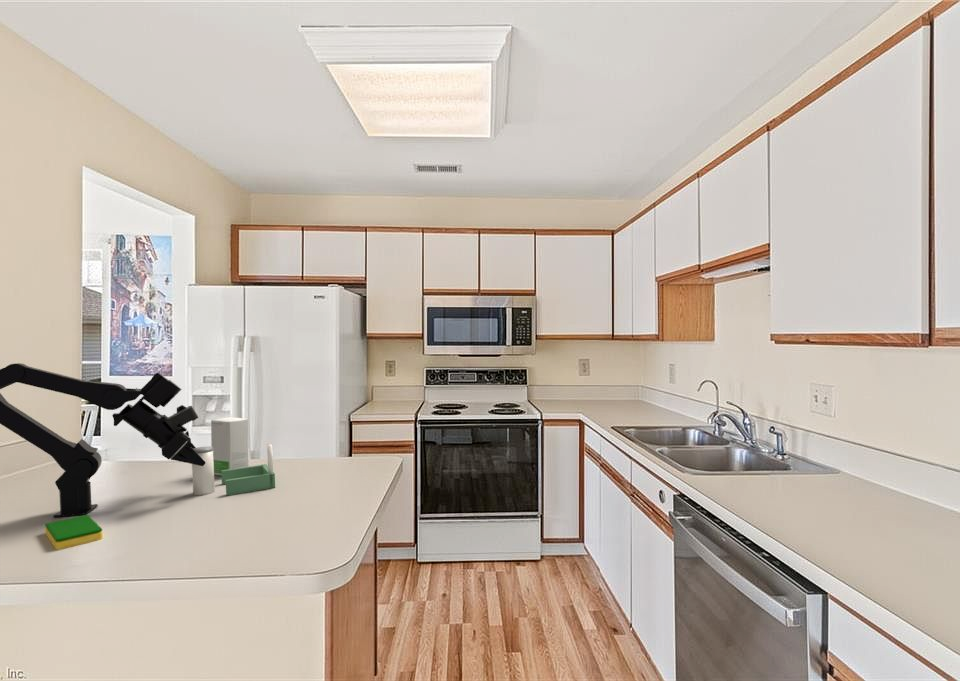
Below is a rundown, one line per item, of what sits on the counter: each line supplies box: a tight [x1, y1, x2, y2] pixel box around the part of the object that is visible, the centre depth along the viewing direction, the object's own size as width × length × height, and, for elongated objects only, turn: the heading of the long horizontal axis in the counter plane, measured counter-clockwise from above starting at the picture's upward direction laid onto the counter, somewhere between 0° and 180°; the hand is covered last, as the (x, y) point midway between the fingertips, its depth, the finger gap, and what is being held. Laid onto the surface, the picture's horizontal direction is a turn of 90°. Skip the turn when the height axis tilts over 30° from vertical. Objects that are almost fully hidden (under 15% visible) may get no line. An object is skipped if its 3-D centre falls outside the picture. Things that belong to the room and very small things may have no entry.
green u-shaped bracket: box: [221, 443, 276, 496], centre depth 142 cm, size 11×13×10 cm
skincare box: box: [210, 416, 249, 476], centre depth 156 cm, size 8×7×16 cm
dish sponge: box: [45, 514, 103, 550], centre depth 108 cm, size 7×14×2 cm, turn 45°
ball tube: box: [191, 445, 216, 496], centre depth 136 cm, size 5×5×11 cm
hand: (203, 461), depth 137 cm, fingers open, 9 cm apart
